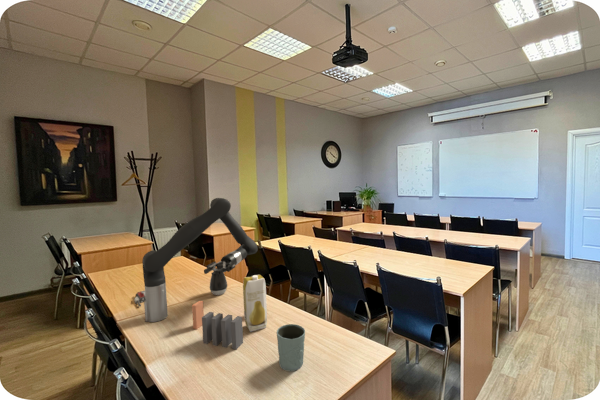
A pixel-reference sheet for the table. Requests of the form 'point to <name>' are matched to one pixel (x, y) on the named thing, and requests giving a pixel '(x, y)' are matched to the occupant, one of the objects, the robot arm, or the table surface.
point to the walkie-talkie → (140, 298)
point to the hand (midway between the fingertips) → (211, 272)
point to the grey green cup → (291, 346)
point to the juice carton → (255, 302)
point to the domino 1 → (197, 314)
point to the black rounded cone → (218, 283)
